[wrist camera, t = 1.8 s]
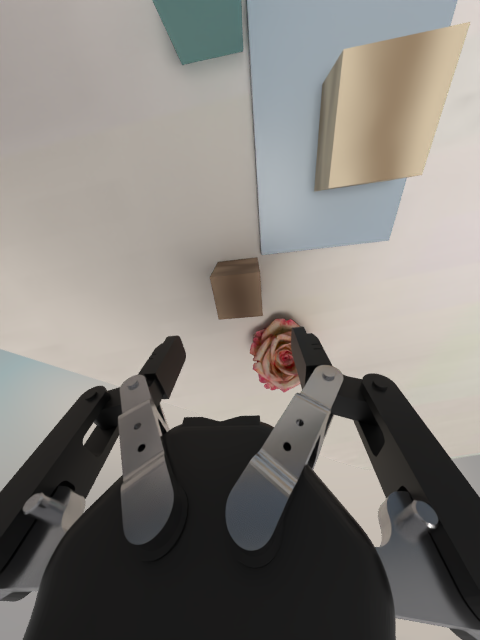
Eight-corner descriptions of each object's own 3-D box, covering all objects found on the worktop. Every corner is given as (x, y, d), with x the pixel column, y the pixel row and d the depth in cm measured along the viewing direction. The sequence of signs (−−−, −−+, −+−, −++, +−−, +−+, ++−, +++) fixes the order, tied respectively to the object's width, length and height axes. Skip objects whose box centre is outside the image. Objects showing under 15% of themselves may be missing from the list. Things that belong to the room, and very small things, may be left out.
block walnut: (224, 297, 26) (218, 319, 21) (218, 261, 23) (209, 277, 18) (259, 293, 25) (262, 315, 20) (257, 257, 23) (259, 272, 18)
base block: (314, 191, 18) (328, 188, 15) (322, 84, 14) (343, 49, 11) (389, 180, 17) (421, 174, 14) (418, 65, 14) (470, 21, 11)
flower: (312, 368, 30) (335, 381, 22) (260, 387, 30) (265, 405, 22) (291, 314, 31) (307, 307, 23) (241, 332, 31) (239, 331, 23)
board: (261, 252, 22) (261, 255, 21) (245, -7, 13) (245, -25, 12) (382, 238, 21) (388, 240, 20) (462, -62, 12) (482, -88, 11)
